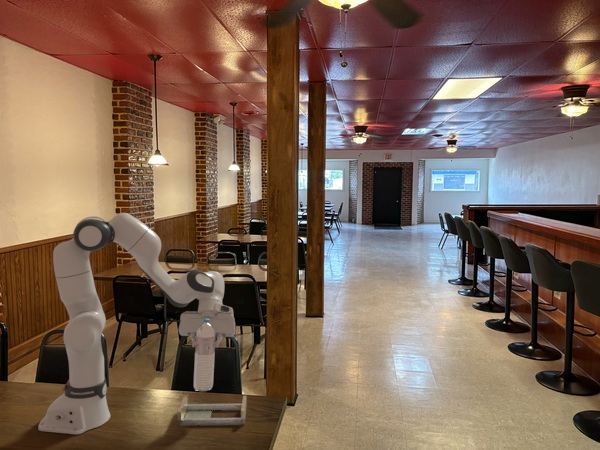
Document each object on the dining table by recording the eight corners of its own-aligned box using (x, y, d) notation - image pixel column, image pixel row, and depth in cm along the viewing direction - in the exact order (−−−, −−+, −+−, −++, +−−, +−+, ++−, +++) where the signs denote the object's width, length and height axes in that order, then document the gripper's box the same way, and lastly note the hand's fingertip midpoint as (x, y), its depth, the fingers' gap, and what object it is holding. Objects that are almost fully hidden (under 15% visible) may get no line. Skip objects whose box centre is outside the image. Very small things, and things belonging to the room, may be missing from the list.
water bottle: (209, 393, 156) (212, 323, 154) (190, 390, 157) (193, 321, 155) (215, 384, 163) (219, 317, 161) (197, 382, 164) (200, 315, 162)
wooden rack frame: (177, 425, 155) (177, 411, 154) (184, 409, 166) (184, 396, 166) (244, 424, 156) (244, 411, 156) (246, 408, 167) (246, 395, 167)
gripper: (180, 306, 164) (173, 342, 155) (236, 308, 165) (233, 343, 156) (182, 315, 169) (176, 349, 160) (237, 316, 170) (234, 351, 161)
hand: (205, 346), depth 158 cm, fingers closed on water bottle, 6 cm apart
